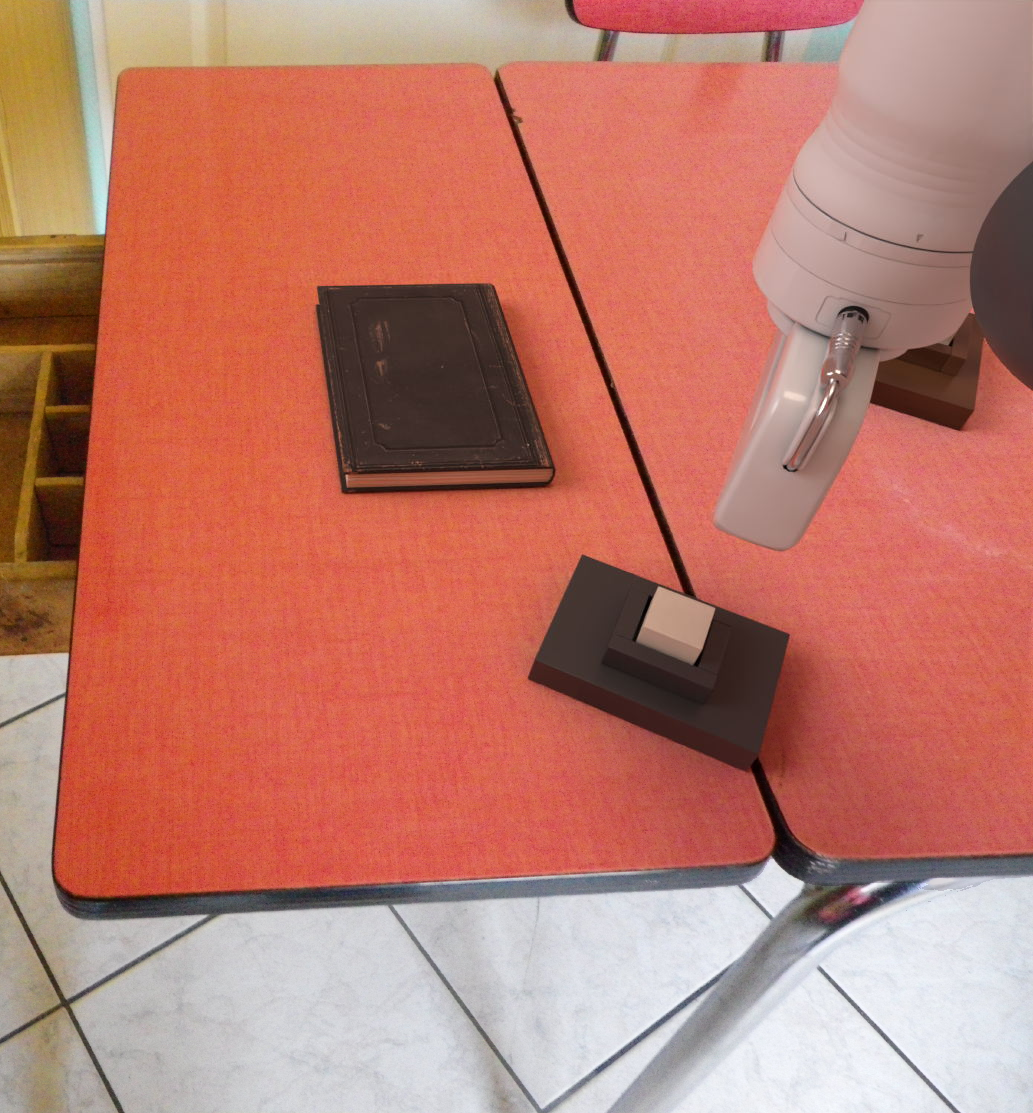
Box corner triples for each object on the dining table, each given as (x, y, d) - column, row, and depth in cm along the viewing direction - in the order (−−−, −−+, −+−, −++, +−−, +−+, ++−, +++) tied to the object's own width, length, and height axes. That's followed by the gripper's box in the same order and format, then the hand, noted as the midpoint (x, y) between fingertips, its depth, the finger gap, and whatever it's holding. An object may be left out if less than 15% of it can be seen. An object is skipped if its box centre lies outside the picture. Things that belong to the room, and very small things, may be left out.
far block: (856, 303, 94) (876, 266, 91) (973, 337, 91) (998, 299, 88) (832, 390, 85) (853, 352, 82) (959, 430, 83) (987, 393, 80)
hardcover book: (341, 493, 76) (344, 471, 74) (315, 307, 91) (317, 285, 89) (551, 487, 77) (558, 465, 75) (492, 304, 92) (496, 282, 90)
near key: (706, 624, 65) (715, 607, 63) (692, 665, 62) (702, 649, 61) (650, 602, 66) (658, 585, 64) (635, 642, 64) (643, 626, 62)
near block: (777, 653, 68) (801, 617, 65) (746, 772, 62) (771, 738, 59) (574, 574, 72) (588, 536, 69) (527, 678, 66) (540, 642, 63)
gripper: (926, 423, 36) (775, 648, 47) (970, 168, 48) (842, 393, 59) (747, 367, 38) (640, 596, 49) (832, 135, 50) (732, 359, 60)
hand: (751, 483), depth 54 cm, fingers closed
